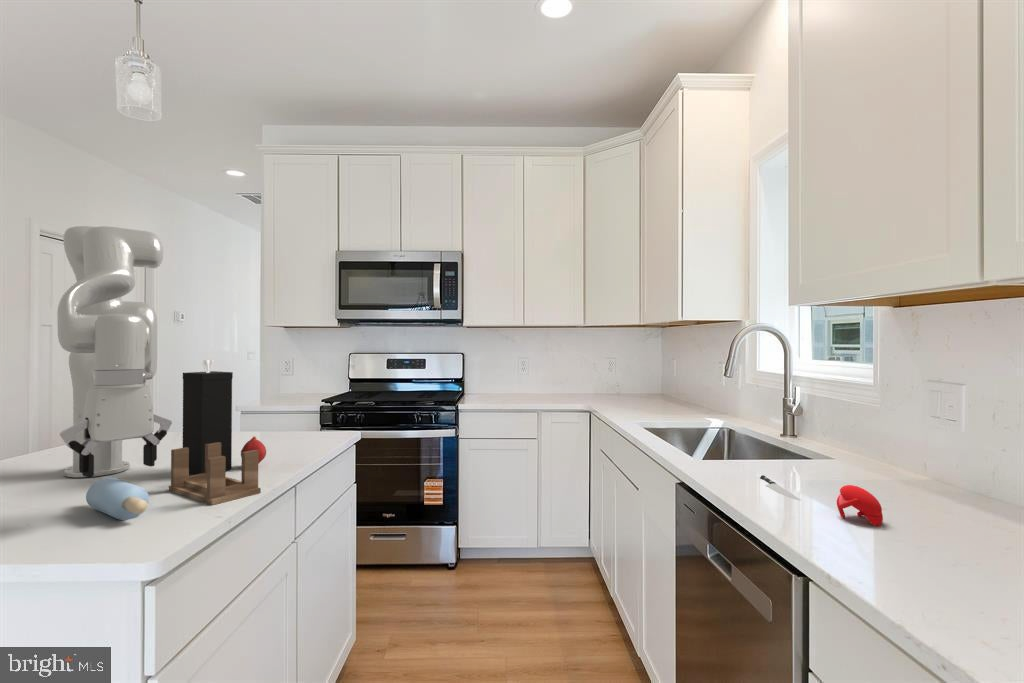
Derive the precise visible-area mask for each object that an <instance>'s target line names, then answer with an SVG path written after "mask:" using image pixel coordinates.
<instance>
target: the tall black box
mask: <svg viewBox="0 0 1024 683" xmlns="http://www.w3.org/2000/svg"><path fill="white" fill-rule="evenodd" d="M200 362H201V364H202V366H203V368H204V371H192V372H189V371H188V372H182V448H185V447H187V448H189V475H190V476H192V475H197V474H202V473H205V444H210V443H217V442H220V443H221V456H226V471H230V470H232V461H233V460H232V456H233V454H232V452H233V450H232V447H233V446H232V445H233V444H232V441H233V440H232V438H233V437H232V436H233V432H232V430H233V426H232V424H233V419H232V418H233V378H234V377H233V376H234V375H233V374H234V373H233V372H232V371H212V367H213V365H214V358H213V359H207V360H200Z"/></svg>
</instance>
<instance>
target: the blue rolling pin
mask: <svg viewBox="0 0 1024 683" xmlns="http://www.w3.org/2000/svg"><path fill="white" fill-rule="evenodd" d="M85 499H86V503H87V505H88V506H90V507H91V508H93V509H94V510H97V511H99V512H101V513H104V514H106V515H108V516H110V517H112V518H114V519H118V520H120V521H128V520H132V519H135V518H137V517H139V516H140V515H141V514H143V513H144V512H145V511H146V510H147V509H148V504H149V500H150V498H149V493H148V492H147V491H146V489H145V488H143V487H142V486H141V487H140V486H138V485H135V484H133V483H130V482H126V481H124V480H122V479H118V478H115V477H110V476H109V477H103V478H101V479H98V480H96V481H95V482H93V483H92V484H91V485H90V486H89V487H88V489H87V491H86V494H85Z"/></svg>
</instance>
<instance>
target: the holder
mask: <svg viewBox="0 0 1024 683" xmlns="http://www.w3.org/2000/svg"><path fill="white" fill-rule="evenodd" d="M170 455H171V456H170V458H171V459H170V485H168V491H170V492H172V493H175V494H179V495H180V496H184V497H187V498H190V499H192V500H195V501H199V502H201V503H205V504H207V505H210V506H214V505H218V504H223V503H226V502H231V501H234V500H238V499H243V498H246V497H250V496H254V495H259V494H261V492H262V491H261V487H259V464H258V450H252V451H246V452H242V458H241V476H240V477H241V480H239V479H235V478H231V477H229V476H228V477H227V475H226V456H221V443H220V442H217V443H210V444H205V473H202V474H197V475H190V474H189V448H187V447H185V448H183V447H179V448H174V449H173V448H172V449H170Z"/></svg>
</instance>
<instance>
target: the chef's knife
mask: <svg viewBox="0 0 1024 683" xmlns="http://www.w3.org/2000/svg"><path fill="white" fill-rule="evenodd" d="M759 479H761V480H764V481H766V483H768V484H765V485H764V487H766V488H768V489H770V490H772V491H774V492H776V493H777V494H780V495H782V496H783V497H784V496H785V497H787V498H790V499H792V500H796V501H801V502H802V499H800V498H799V497H797V496H796V495H794V493H792V492H790V491H789V490H787V489H785V488H784V487H782V486H781V485H779V484H778V483H776V482H775V481H773V480H772V479H770V478H769V477H767V476H765V475H763V474H762V475H760V477H759Z"/></svg>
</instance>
